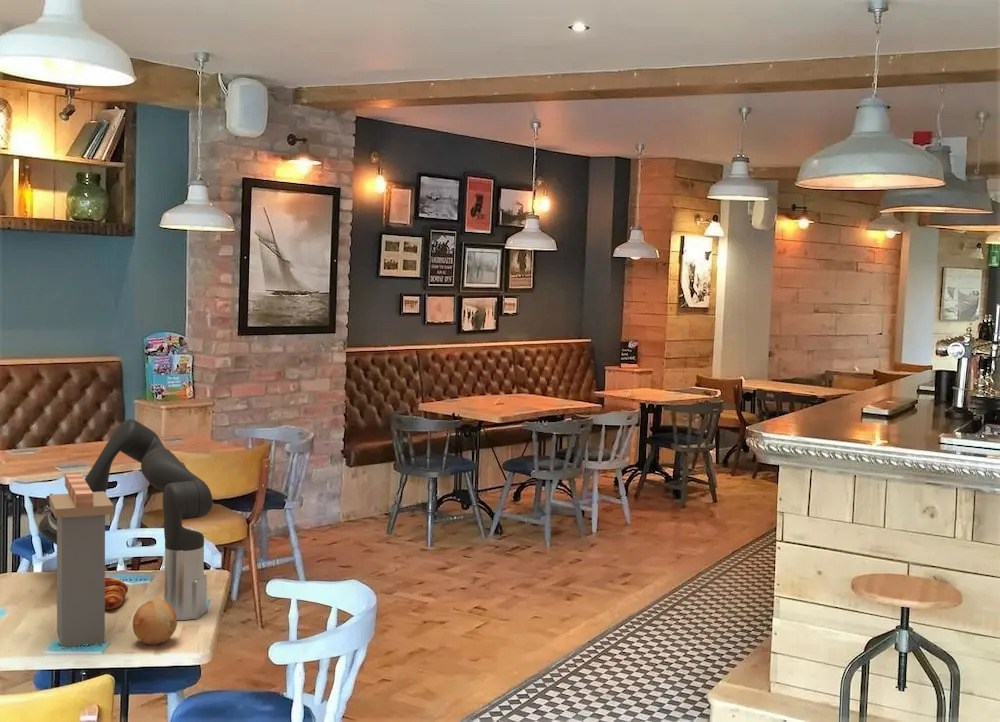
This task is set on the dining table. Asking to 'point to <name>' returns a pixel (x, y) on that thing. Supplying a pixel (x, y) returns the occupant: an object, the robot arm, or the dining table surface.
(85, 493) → the batten
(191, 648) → the dining table surface
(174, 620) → the onion
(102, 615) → the stand
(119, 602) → the croissant
